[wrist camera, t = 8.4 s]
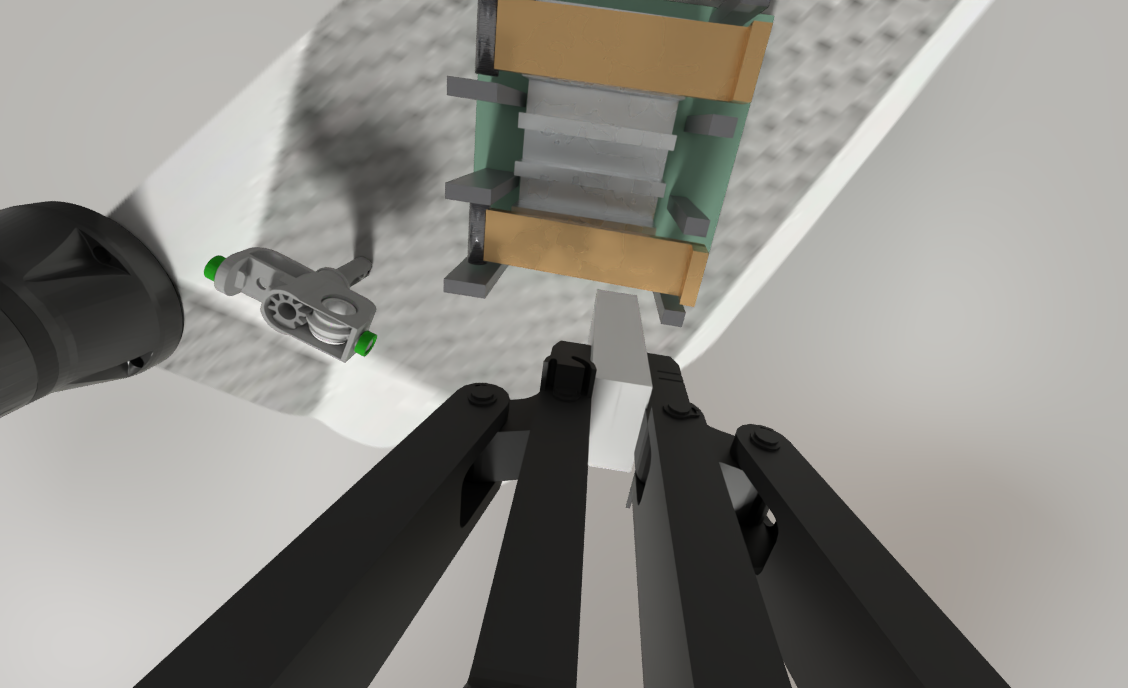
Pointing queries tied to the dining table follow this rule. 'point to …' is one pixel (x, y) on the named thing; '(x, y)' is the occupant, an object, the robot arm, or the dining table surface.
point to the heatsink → (594, 151)
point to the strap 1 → (621, 49)
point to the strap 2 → (586, 251)
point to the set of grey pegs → (494, 184)
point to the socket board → (688, 169)
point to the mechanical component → (302, 298)
